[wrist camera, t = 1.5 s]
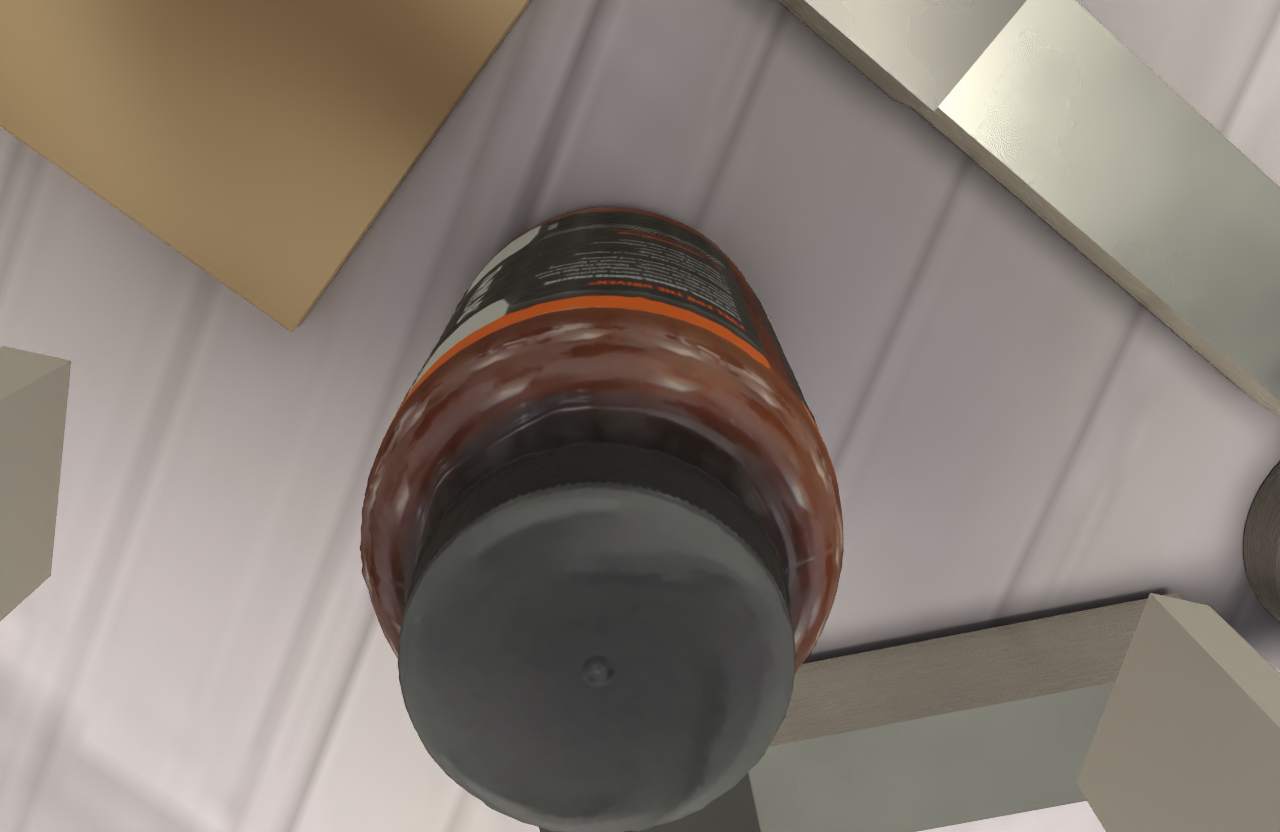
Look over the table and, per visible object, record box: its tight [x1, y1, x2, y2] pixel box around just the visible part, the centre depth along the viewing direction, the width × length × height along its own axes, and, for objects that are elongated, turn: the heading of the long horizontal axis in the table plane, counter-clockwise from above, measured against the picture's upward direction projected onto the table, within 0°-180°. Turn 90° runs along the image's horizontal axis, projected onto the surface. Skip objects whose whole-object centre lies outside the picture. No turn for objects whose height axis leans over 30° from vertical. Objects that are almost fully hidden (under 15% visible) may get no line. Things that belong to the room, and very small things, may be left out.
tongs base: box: [778, 0, 1280, 622], centre depth 20 cm, size 5×20×4 cm, turn 52°
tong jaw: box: [539, 593, 1183, 832], centre depth 22 cm, size 17×3×4 cm, turn 102°
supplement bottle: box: [360, 207, 843, 832], centre depth 17 cm, size 6×6×11 cm
